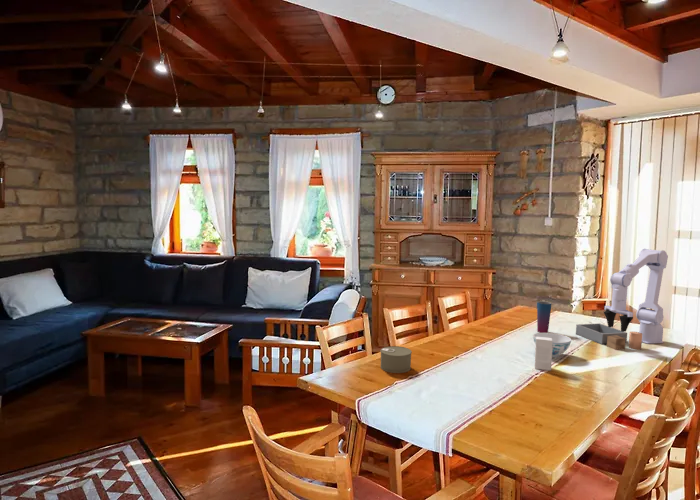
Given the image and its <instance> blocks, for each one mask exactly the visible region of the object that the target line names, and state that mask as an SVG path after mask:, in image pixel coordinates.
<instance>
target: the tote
mask: <svg viewBox="0 0 700 500" xmlns="http://www.w3.org/2000/svg"><path fill="white" fill-rule="evenodd" d="M575 335H576V336H579V337H582V338H584V339H587V340H590V341H591V342H594V343H597V344H600V345H604V346H605V345H607V337H608V336H615V335H617V336H620V337H623V338H625V344H627V343H628V332H627V331H625V332H622V331H621V329H617V328H614V327H608V325H607V324H606V325H605V324H603V323H600V322H598V323H584V324H583V323H582V324H581V323H579V324H578V323H577V324H576V326H575Z"/></svg>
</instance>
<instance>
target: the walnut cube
mask: <svg viewBox="0 0 700 500" xmlns="http://www.w3.org/2000/svg"><path fill="white" fill-rule="evenodd" d="M606 347H607V348H610V349H613V350H616V351H617V350H625V349H626V343H625V338H623V337H620V336H617V335H615V336H608V337H607V344H606Z"/></svg>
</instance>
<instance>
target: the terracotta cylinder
mask: <svg viewBox="0 0 700 500" xmlns="http://www.w3.org/2000/svg"><path fill="white" fill-rule="evenodd" d="M642 343H643V342H642V333H640V332H638V331H629V336H628V348H629V349H631V350H636V351H640V350H642V347H643V345H642Z"/></svg>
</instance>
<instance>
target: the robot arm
mask: <svg viewBox="0 0 700 500" xmlns="http://www.w3.org/2000/svg"><path fill="white" fill-rule="evenodd" d="M668 258H669V255H668V254H667V252H666V250H663V249H662V250H660V249H658V250H657V249H649V248H648V249H647V248H642V249H641V250H640V251H639V254H638V257H637V258H636V259H635V261H634V262H633V263H627V264H626V265H625V266H624V267H623V268H622V269H620V270H619V271H618V272H614V273H613V274H611V277H610V279H609V280H610V281H609V282H610V285H611V289H612V291H611V292H612V295H611V305H604V311H603V314H604V316H605V319H606V322H607V323H606V324H607V326H608V327H612V328H614V324H615V318H616V315H617V314H619V315H618V317H619V321H620V330H621V331H622V332H627V330H628V327H629V324H630V323H631V322H632V320H634V312H633V311H630V310H628V309H627V297H628V287H629V286H630V285H631V283H632V281H633V279H634V278H635V277H636V276H637V275H638V274H639V273H640V269H641V268H643V267H644V266H645V267H648V268H649V270H650V271H649V276H648V281H647V287H646V294H645V299H644V302H642V303H640V304H638V308H637V310H636V314H635V317H636V319H637V320H638V322H639V332H640V333H642V343H644V344H648V345H649V344H663V343H665V342H664V341H663V338H664V328H663V325H662V324H661V323H662V322H663V320H664V308H663V307H662V306H661V305H660V304H658V303H659V297H660V292H661V286H662V281H663V274H664V270H665V269H666V268H667V265H668V264H667V263H668Z"/></svg>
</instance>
